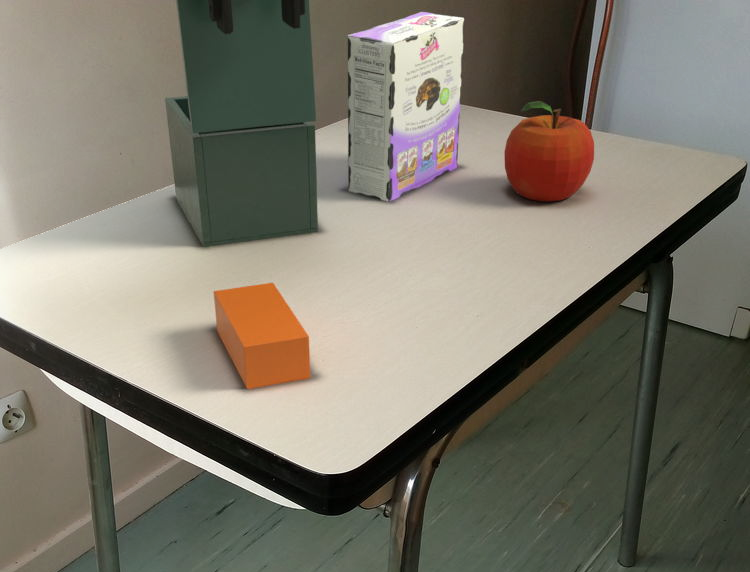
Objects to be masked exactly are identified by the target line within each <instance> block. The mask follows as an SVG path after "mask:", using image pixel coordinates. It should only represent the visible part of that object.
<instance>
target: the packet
mask: <svg viewBox="0 0 750 572" xmlns="http://www.w3.org/2000/svg"><path fill="white" fill-rule="evenodd" d="M213 301H214V309H215V311H214V313H215V320H216V332H217V333H218V336H219V338H220V340H221V341H222V343H223V345H224V347H225V349H226V351H227V353H228V355H229V357H230V359H231V361H232V363H233V365H234V367H235V369H236V370H237V372H238V374H239V376H240V378H241V380H242V382H243V385H244V386H245V388H246V389H247V390H251V389H256V388H262V387H267V386H273V385H278V384H279V385H280V384H286V383H290V382H296V381H302V380H308V379H311V358H310V357H311V355H310V336H309V334H308V332H307V331H306V330H305V328H304V327H303V325H302V324H301V322H300V321H299V319H298V318H297V316H296V315H295V313H294V312H293V310H292V309H291V307H290V306H289V304H288V303H287V301H286V300H285V298H284V297H283V294H281V292H280V291H279V289H278V288H277V286H276V284H275V283H274V282H267V283H261V284H252V285H247V286H240V287H232V288H226V289H219V290H218V289H217V290H214V291H213Z"/></svg>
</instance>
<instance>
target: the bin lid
mask: <svg viewBox="0 0 750 572" xmlns="http://www.w3.org/2000/svg"><path fill="white" fill-rule="evenodd" d="M175 4H176V13H177V20H178V22H177V23H178V30H179V38H180V48H181V55H182V63H183V72H184V80H185V88H186V89H185V90H186V96H187V97H188V106H189V114H190V122H191V130H192V132H193V133H202V132H212V131H222V130H232V129H242V128H252V127H262V126H272V125H282V124H292V123H302V122H312V123H313V122H317V112H316V111H317V110H316V96H315V95H316V94H315V93H316V92H315V78H314V61H313V60H314V59H313V46H312V45H313V44H312V42H313V41H312V28H311V11H310V10H311V9H310V0H305V14H304V15H300V28H297V29H293V28H292V27H290V26H289V25H287V24H286V23H285V22H283V20H282V7H281V0H231V6H232V19H233V32H231V34H224V33H223V32H222V31H221V30H220V29H218V27H217V24H216V22H212V21H211V19H210V15H209V5H208V0H175Z"/></svg>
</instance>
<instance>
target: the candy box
mask: <svg viewBox="0 0 750 572" xmlns="http://www.w3.org/2000/svg"><path fill="white" fill-rule="evenodd" d="M464 34H465V18H464V17H460V16H453V15H448V14H438V13H433V12H426V11H420V12H417V13H414V14H411V15H408V16H405V17H402V18H400V19H396V20H393V21H390V22H387V23H383V24H380V25H377V26H373V27H371V28H367V29H364V30H362V31H357V32H354V33H351V34H347V133H348V135H347V166H348V167H347V169H348V171H347V174H348V175H347V176H348V181H347V182H348V183H347V184H348V189H347V190H348V192H350V193H353V194H358V195H361V196H365V197H369V198H372V199H375V200H376V199H377V200H380V201H383V202H391V201H392V202H393V201H394V200H396V199H399V198H400V197H402V196H404V195H406V194H408V193H411V192H413V191H415V190H417V189H418V188H421V187H422V186H424V185H426V184H428V183H430V182H432V181H433V180H435V179H438V178H440V177H441V176H443V175H446V174H448V173H449V172H452V171H454V170H456V169H458V160H459V159H458V158H459V157H458V155H459V138H460V136H459V133H460V113H461V97H462V96H461V95H462V77H463V76H462V75H463V57H464Z"/></svg>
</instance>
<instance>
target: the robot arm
mask: <svg viewBox="0 0 750 572" xmlns="http://www.w3.org/2000/svg"><path fill="white" fill-rule="evenodd" d="M208 5H209V15H210V19H211V21H212V22H216V24H217V27H218V29H220V30H221V31H222V32H223V33H224V34H231V32H233V19H232V6H231V0H208ZM281 7H282V20H283V22H285V23H286V24H287V25H289V26H290V27H292V28H293V29H297V28H300V15H304V14H305V0H281Z"/></svg>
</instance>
